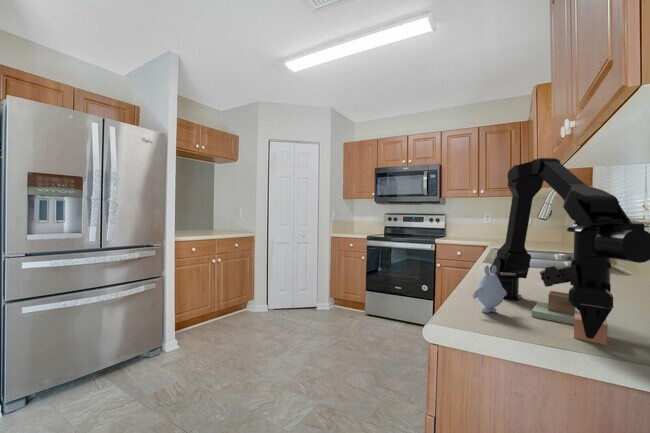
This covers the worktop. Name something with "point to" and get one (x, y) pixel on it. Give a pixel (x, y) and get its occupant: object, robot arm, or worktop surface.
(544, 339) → the worktop surface
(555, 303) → the walnut brick
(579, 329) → the terracotta brick
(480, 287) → the toy figure
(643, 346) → the worktop surface
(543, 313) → the base plate
